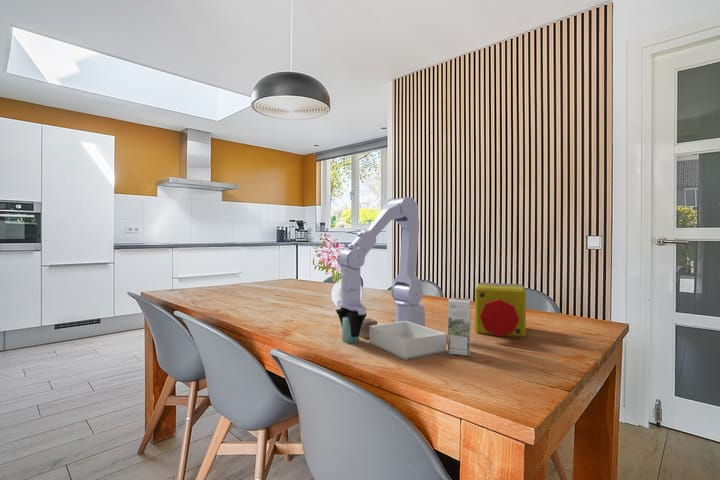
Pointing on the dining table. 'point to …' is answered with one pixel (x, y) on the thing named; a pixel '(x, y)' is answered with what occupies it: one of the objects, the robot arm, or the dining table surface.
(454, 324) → the syrup box
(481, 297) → the emergency stop button
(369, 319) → the walnut cube
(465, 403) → the dining table surface
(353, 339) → the teal canister
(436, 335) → the grey tote
